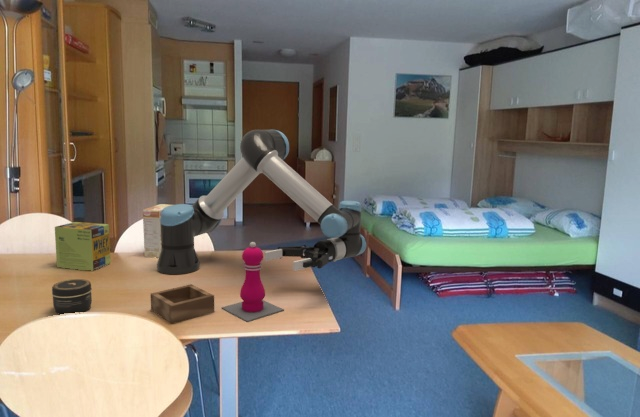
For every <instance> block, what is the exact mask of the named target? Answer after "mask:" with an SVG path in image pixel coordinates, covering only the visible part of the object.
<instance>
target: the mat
mask: <svg viewBox="0 0 640 417" xmlns="http://www.w3.org/2000/svg"><path fill="white" fill-rule="evenodd" d="M262 301H263V309H262V310H261V311H258V312H246V311H244V310H243V309H242V302H243V301H240V302H236V303H233V304H229V305H226V306H222V307H221V310H222V311H225V312H227V313H229V314H230V315H233V316H235V317H237V318H238V319H241V320H243V321H244V322H246V323H250V322H252V321H255V320H259V319H262V318H265V317H268V316H272V315H275V314H278V313H280V312H284V311H285V309H284V308H281V307H279V306H277V305H275V304H273V303H270V302H269V301H267V300H266V301H265V300H264V299H263V300H262Z"/></svg>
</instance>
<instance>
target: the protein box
mask: <svg viewBox="0 0 640 417" xmlns="http://www.w3.org/2000/svg"><path fill="white" fill-rule="evenodd" d="M109 224H110V223H109ZM109 224H108V223H107V224H106V223H95V222H94V223H93V222H81V221H80V222H79V221H73V222H69V223H65V224H61V225H56V226H54V236H55V237H54V238H55V256H56V268H57V267H63V268H62V269H65V268H70V269H69V270H75V269H78V271H79V270H80V271H85V270H91V271H90V272H94V270H95V271H97V270H99V269H101V268H100V267H102V268H104V267H106V266H105V265H107V266H109V265H111V264H110V263H111V261H112V260H111V245H110V243H111V242H110V240H111V238H110V225H109ZM108 264H109V265H108ZM103 266H104V267H103ZM98 268H99V269H98ZM96 269H97V270H96Z"/></svg>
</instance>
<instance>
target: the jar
mask: <svg viewBox="0 0 640 417" xmlns="http://www.w3.org/2000/svg"><path fill="white" fill-rule="evenodd" d="M92 291H93V290H92V283H91V281H90V280H87V279H80V278H78V279H77V278H75V279H74V278H73V279H65V280H63V281H62V280H61V281H58V282H56V283H54V284H53V285H52V287H51V293H52V294H51V295H52V304H53V309H54V311H55V312H56V313H57V314H58V313H59V314H58V315H60V314H64V313H75V312H83V313H85V312H87V311H88V310H90V308H92V307H91V306H92V301H93V300H92Z"/></svg>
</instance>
